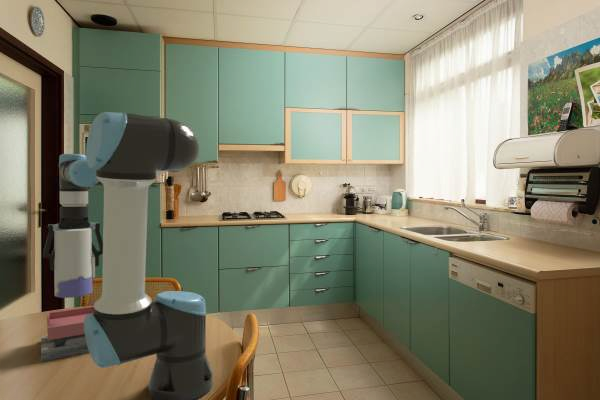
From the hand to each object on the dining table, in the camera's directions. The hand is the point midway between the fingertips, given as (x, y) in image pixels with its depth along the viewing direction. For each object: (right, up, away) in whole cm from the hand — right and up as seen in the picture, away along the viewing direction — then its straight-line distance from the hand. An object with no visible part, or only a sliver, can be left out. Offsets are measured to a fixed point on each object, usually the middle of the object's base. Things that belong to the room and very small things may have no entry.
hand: (75, 278), depth 122 cm
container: (0, -5, 0) cm, 5 cm away
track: (+6, -20, +5) cm, 22 cm away
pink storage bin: (0, -18, +1) cm, 18 cm away
